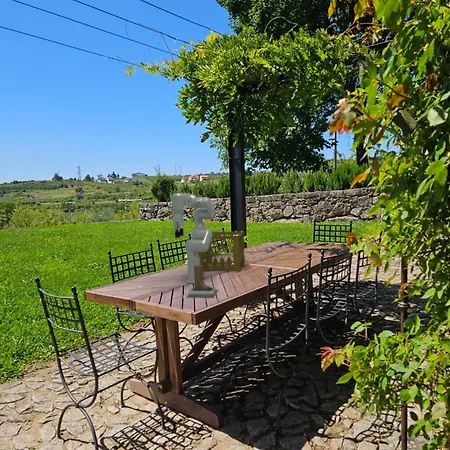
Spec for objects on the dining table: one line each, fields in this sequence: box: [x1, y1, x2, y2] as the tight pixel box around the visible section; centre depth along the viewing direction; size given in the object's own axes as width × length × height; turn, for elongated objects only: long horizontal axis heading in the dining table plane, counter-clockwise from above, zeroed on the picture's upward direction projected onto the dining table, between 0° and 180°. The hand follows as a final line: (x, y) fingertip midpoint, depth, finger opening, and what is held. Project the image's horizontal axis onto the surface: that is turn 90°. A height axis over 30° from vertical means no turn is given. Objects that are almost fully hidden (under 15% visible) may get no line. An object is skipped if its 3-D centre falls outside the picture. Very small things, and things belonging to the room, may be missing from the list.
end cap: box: [186, 286, 219, 299], centre depth 256 cm, size 16×17×4 cm
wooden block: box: [194, 265, 211, 291], centre depth 255 cm, size 9×4×18 cm, turn 61°
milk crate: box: [197, 231, 246, 273], centre depth 343 cm, size 36×36×30 cm
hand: (179, 236), depth 269 cm, fingers open, 9 cm apart
